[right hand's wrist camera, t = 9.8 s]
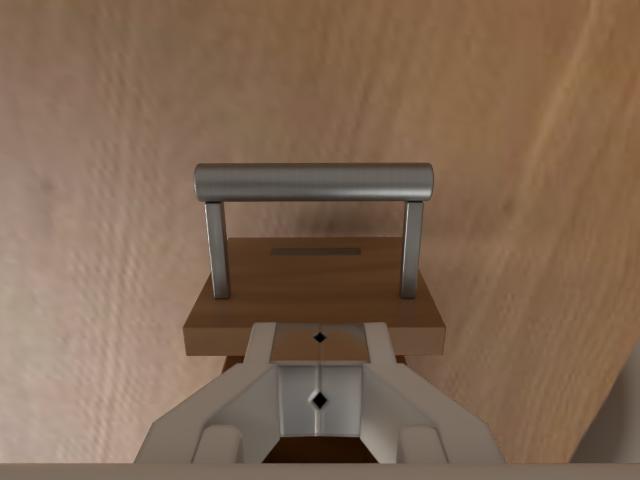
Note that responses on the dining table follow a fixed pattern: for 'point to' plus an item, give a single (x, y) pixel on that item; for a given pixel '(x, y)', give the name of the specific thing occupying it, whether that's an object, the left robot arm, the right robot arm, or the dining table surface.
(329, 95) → the dining table surface
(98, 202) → the dining table surface
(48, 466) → the right robot arm
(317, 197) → the drawer
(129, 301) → the dining table surface
